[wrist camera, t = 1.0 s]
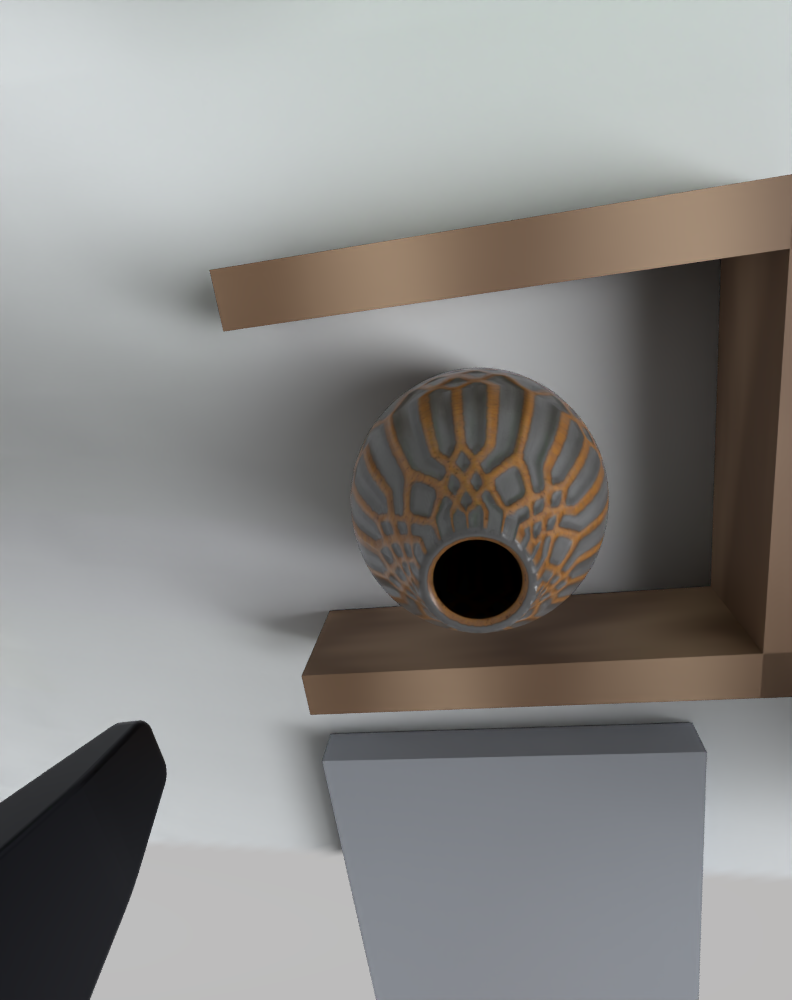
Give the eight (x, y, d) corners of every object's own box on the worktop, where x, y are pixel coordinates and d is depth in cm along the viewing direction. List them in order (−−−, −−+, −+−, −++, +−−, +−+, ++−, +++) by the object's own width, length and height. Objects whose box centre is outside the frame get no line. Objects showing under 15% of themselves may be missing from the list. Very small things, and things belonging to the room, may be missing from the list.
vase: (588, 543, 21) (664, 716, 12) (391, 562, 22) (342, 732, 14) (574, 338, 18) (655, 385, 10) (356, 371, 20) (273, 437, 11)
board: (692, 722, 23) (706, 752, 21) (686, 977, 27) (698, 1015, 26) (330, 733, 25) (322, 761, 23) (381, 967, 29) (376, 1001, 28)
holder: (781, 188, 16) (872, 161, 13) (755, 621, 21) (817, 695, 17) (261, 272, 19) (209, 270, 15) (336, 645, 23) (310, 714, 20)
